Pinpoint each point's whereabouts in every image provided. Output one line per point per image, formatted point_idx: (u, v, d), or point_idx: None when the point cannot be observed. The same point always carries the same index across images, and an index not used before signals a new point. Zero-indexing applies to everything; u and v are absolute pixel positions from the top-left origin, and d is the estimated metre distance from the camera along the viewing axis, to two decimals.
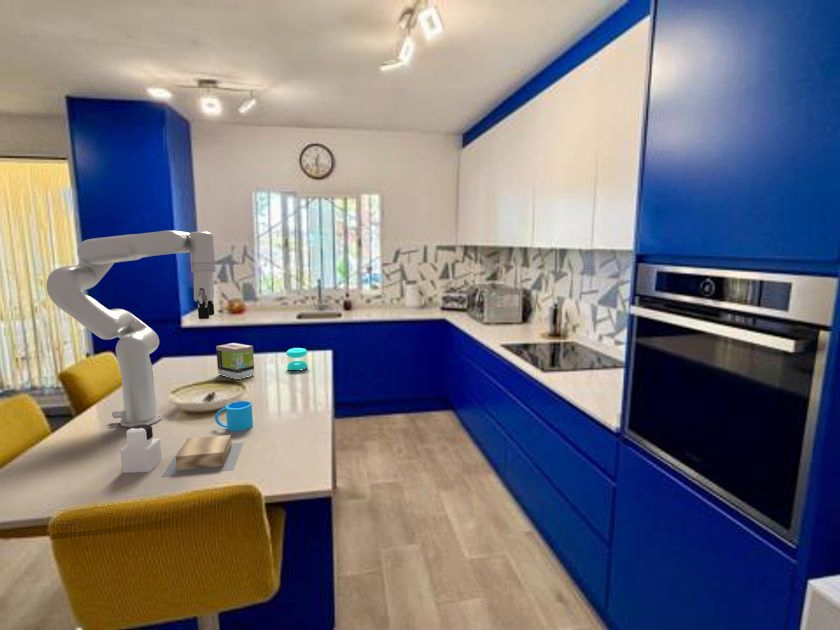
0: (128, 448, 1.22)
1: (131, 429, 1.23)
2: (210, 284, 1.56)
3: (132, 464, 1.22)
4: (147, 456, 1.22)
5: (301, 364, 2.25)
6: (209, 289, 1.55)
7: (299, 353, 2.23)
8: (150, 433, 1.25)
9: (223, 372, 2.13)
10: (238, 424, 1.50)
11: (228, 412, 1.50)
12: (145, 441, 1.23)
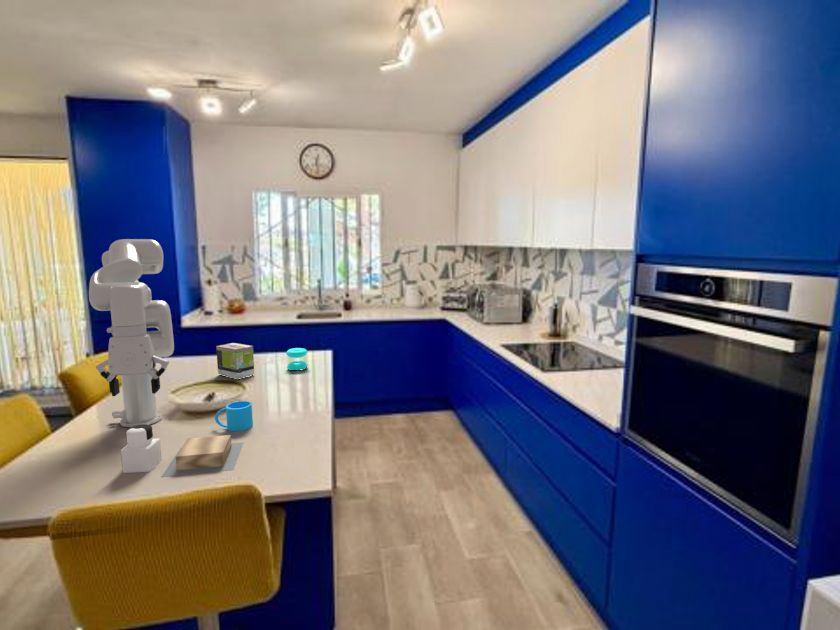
0: (128, 448, 1.22)
1: (131, 429, 1.23)
2: None
3: (132, 464, 1.22)
4: (147, 456, 1.22)
5: (301, 364, 2.25)
6: None
7: (299, 353, 2.23)
8: (150, 433, 1.25)
9: (223, 372, 2.13)
10: (238, 424, 1.50)
11: (228, 412, 1.50)
12: (145, 441, 1.23)
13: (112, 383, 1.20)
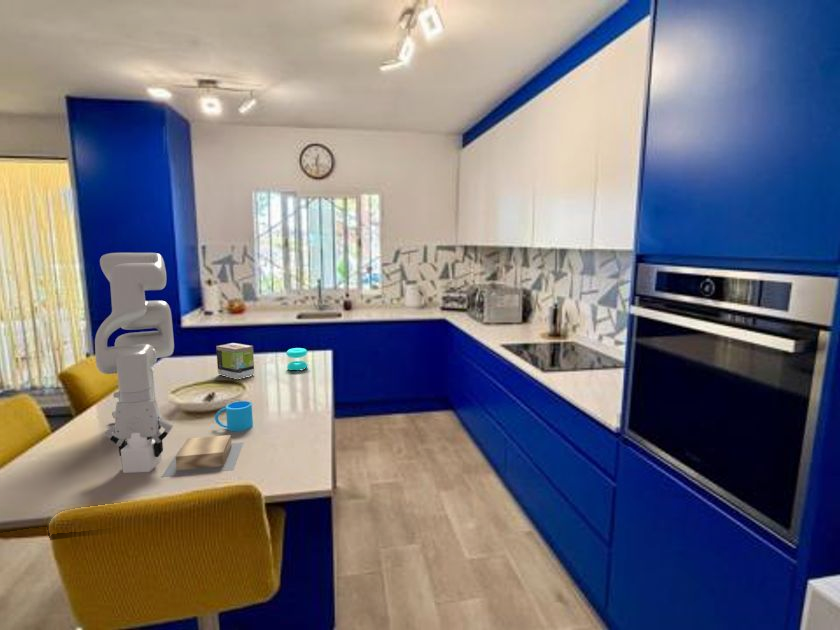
0: (128, 448, 1.22)
1: None
2: None
3: (132, 464, 1.22)
4: (147, 456, 1.22)
5: (301, 364, 2.25)
6: None
7: (299, 353, 2.23)
8: None
9: (223, 372, 2.13)
10: (238, 424, 1.50)
11: (228, 412, 1.50)
12: (145, 441, 1.23)
13: (122, 448, 1.23)
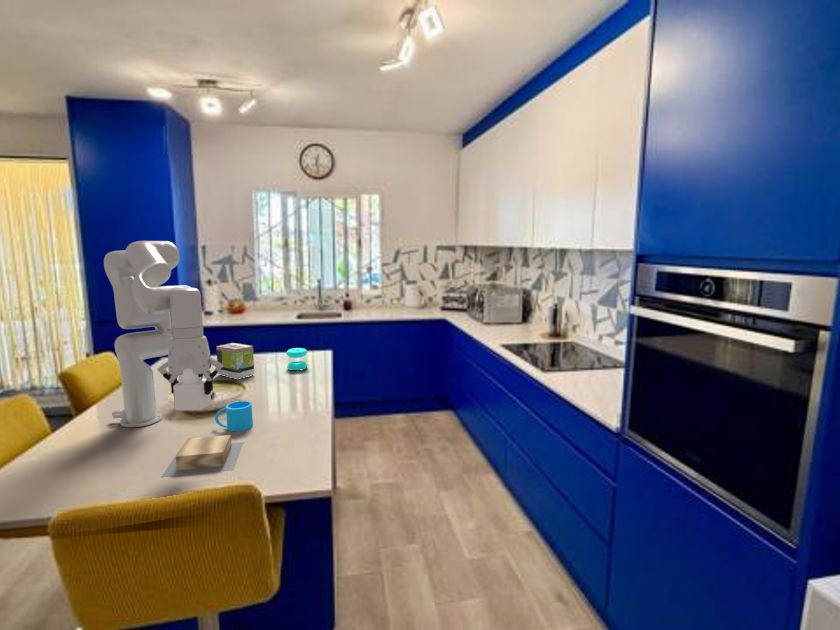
0: (180, 384, 1.23)
1: None
2: None
3: (184, 401, 1.24)
4: (199, 392, 1.24)
5: (301, 364, 2.25)
6: None
7: (299, 353, 2.23)
8: None
9: (223, 372, 2.13)
10: (238, 424, 1.50)
11: (228, 412, 1.50)
12: (196, 378, 1.25)
13: (174, 384, 1.24)
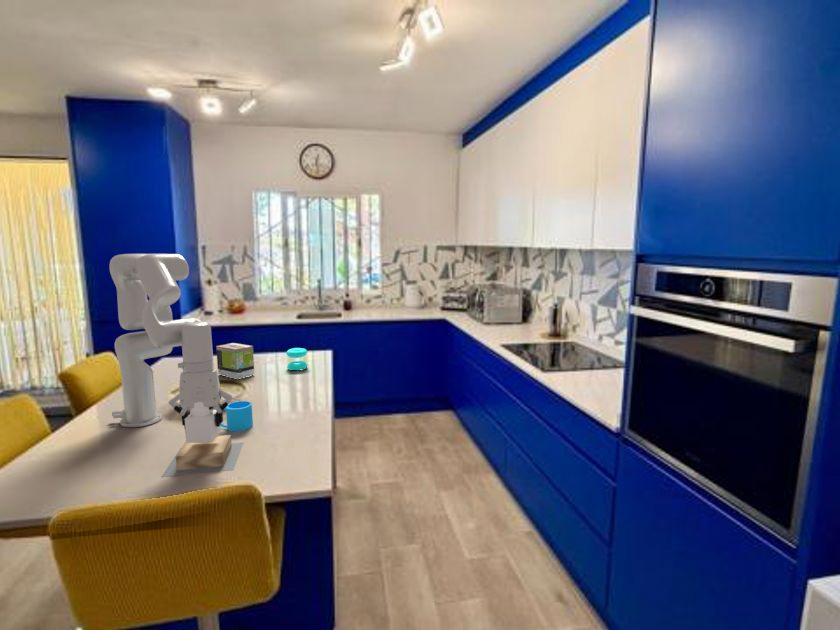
0: (191, 417, 1.25)
1: None
2: None
3: (195, 433, 1.26)
4: (210, 425, 1.26)
5: (301, 364, 2.25)
6: None
7: (299, 353, 2.23)
8: None
9: (223, 372, 2.13)
10: (238, 424, 1.50)
11: (228, 412, 1.50)
12: (207, 411, 1.27)
13: (185, 417, 1.26)
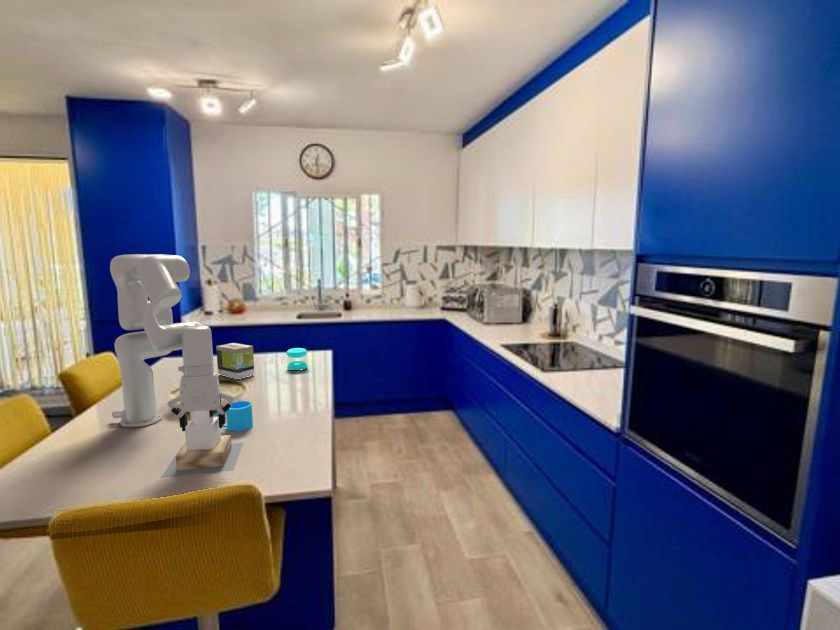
0: (192, 425, 1.26)
1: None
2: None
3: (195, 441, 1.26)
4: (210, 433, 1.26)
5: (301, 364, 2.25)
6: None
7: (299, 353, 2.23)
8: (212, 411, 1.28)
9: (223, 372, 2.13)
10: (238, 424, 1.50)
11: (228, 412, 1.50)
12: (208, 418, 1.27)
13: (182, 419, 1.26)
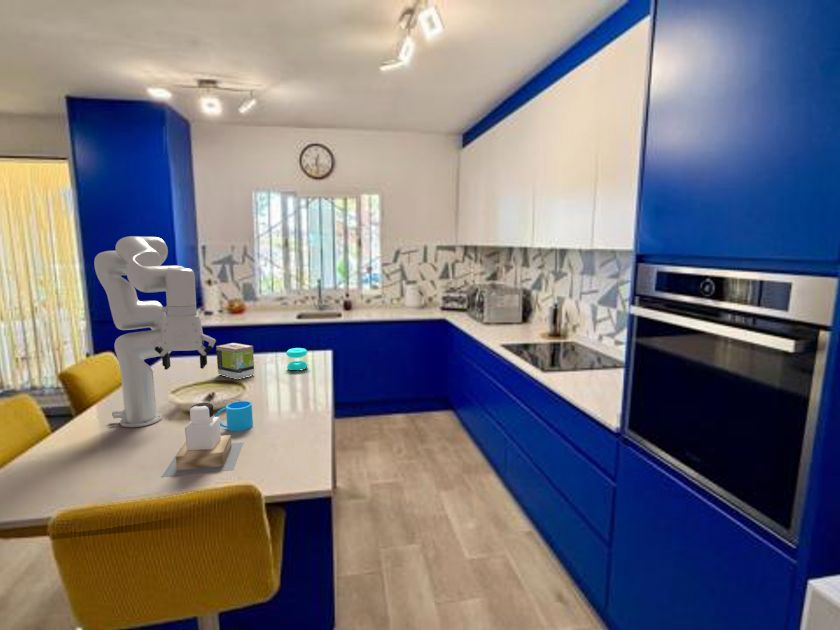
0: (192, 425, 1.26)
1: (194, 407, 1.27)
2: None
3: (195, 441, 1.26)
4: (210, 433, 1.26)
5: (301, 364, 2.25)
6: None
7: (299, 353, 2.23)
8: (212, 411, 1.28)
9: (223, 372, 2.13)
10: (238, 424, 1.50)
11: (228, 412, 1.50)
12: (208, 418, 1.27)
13: (165, 358, 1.31)
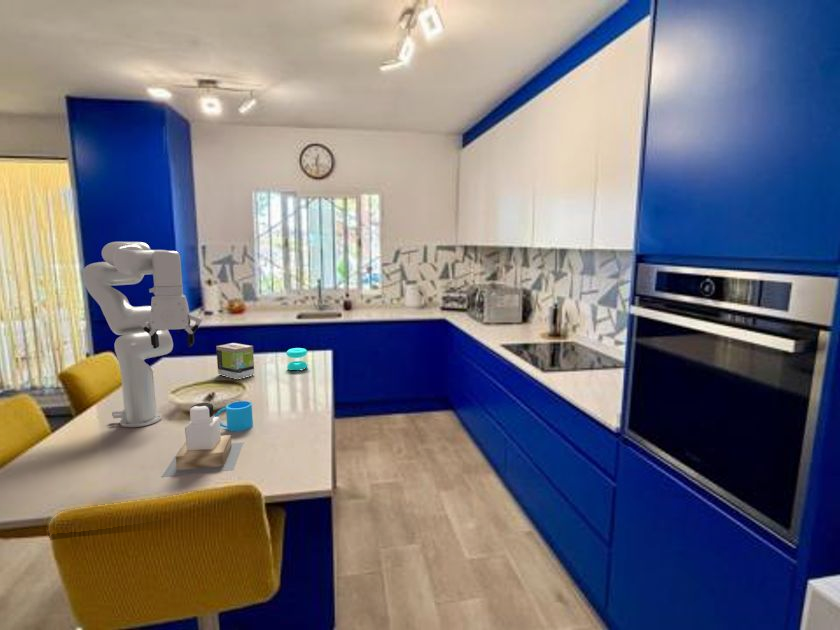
0: (192, 425, 1.26)
1: (194, 407, 1.27)
2: None
3: (195, 441, 1.26)
4: (210, 433, 1.26)
5: (301, 364, 2.25)
6: None
7: (299, 353, 2.23)
8: (212, 411, 1.28)
9: (223, 372, 2.13)
10: (238, 424, 1.50)
11: (228, 412, 1.50)
12: (208, 418, 1.27)
13: (153, 337, 1.37)
